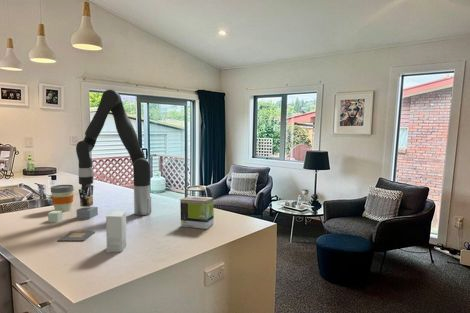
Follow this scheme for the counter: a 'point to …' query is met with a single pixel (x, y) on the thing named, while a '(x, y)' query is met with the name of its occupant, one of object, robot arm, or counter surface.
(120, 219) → the skincare box
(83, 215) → the slate block
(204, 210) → the tea box
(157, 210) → the counter surface
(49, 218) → the sage green block
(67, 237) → the card
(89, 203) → the walnut block
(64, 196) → the reusable coffee cup
